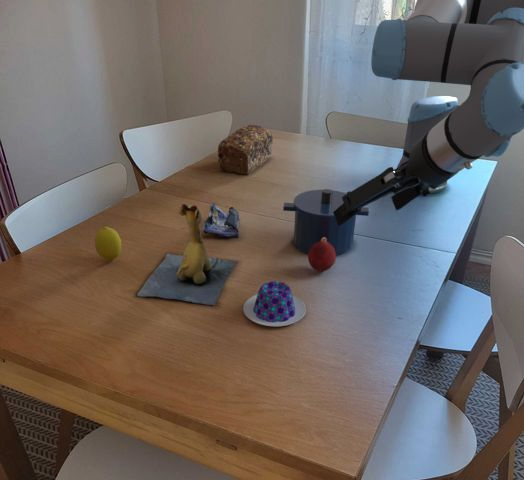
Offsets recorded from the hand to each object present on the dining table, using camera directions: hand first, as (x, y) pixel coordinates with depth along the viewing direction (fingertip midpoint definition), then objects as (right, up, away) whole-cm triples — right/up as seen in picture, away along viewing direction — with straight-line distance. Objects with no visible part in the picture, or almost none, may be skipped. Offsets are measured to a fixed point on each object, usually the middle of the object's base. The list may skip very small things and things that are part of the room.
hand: (366, 210), depth 101 cm
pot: (-5, 0, +28) cm, 28 cm away
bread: (-24, +32, +70) cm, 81 cm away
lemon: (-52, -6, +20) cm, 56 cm away
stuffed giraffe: (-34, -11, +14) cm, 39 cm away
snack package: (-28, +3, +33) cm, 43 cm away
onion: (-7, -9, +17) cm, 20 cm away
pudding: (-17, -18, +4) cm, 25 cm away
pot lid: (-5, +7, +22) cm, 23 cm away
